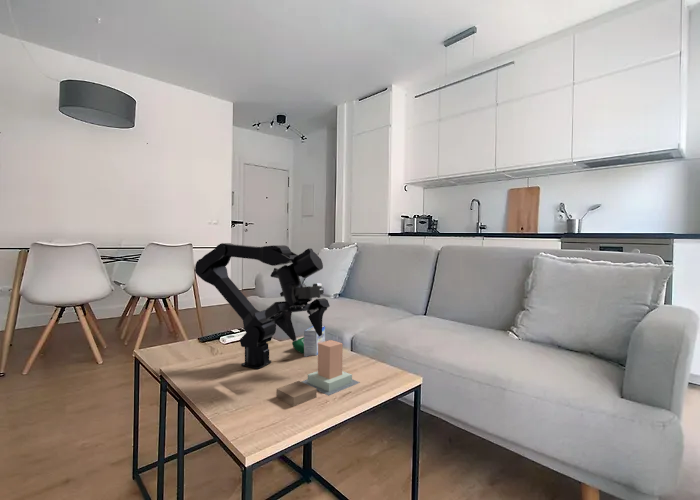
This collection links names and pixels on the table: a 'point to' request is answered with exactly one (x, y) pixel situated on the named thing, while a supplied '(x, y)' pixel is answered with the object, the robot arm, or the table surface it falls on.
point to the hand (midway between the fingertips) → (308, 338)
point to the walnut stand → (296, 393)
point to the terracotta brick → (330, 359)
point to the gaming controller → (299, 345)
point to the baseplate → (332, 390)
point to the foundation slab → (329, 381)
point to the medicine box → (312, 341)
